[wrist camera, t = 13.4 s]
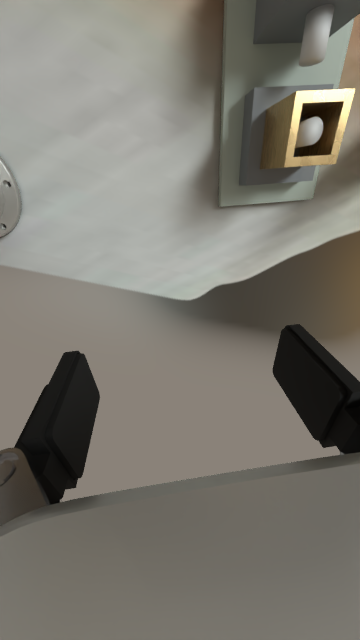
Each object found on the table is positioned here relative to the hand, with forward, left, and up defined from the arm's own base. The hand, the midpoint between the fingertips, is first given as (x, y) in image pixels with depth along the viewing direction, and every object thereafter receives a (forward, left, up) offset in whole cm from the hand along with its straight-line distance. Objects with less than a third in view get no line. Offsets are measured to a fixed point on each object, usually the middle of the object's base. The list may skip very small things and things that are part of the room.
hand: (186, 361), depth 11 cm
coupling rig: (+16, +15, -28) cm, 36 cm away
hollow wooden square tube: (+16, +10, -24) cm, 31 cm away
